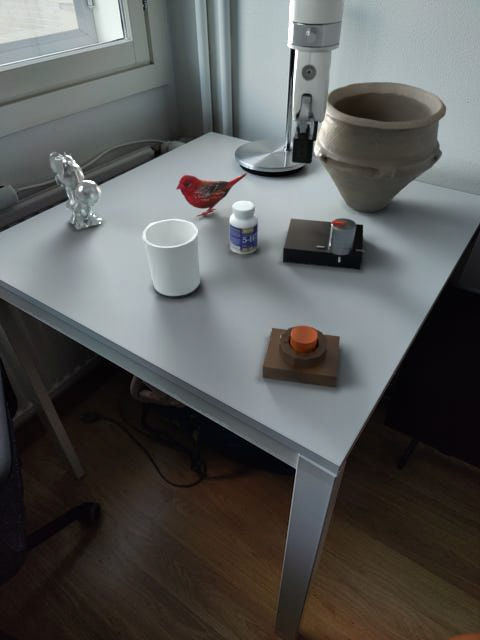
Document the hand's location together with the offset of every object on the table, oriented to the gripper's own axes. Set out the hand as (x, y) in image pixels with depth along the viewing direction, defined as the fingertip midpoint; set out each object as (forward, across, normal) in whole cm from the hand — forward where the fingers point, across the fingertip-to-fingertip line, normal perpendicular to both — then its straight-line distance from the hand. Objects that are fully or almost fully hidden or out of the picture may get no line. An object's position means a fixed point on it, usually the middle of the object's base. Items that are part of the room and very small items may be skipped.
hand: (304, 150), depth 79 cm
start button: (+14, -32, -4) cm, 35 cm away
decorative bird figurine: (+18, +9, +19) cm, 28 cm away
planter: (+18, +18, -13) cm, 29 cm away
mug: (+18, -17, +20) cm, 32 cm away
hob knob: (+15, -6, -8) cm, 18 cm away
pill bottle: (+18, -4, +10) cm, 21 cm away
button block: (+18, -32, -4) cm, 37 cm away
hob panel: (+18, -4, -5) cm, 19 cm away
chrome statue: (+18, -1, +44) cm, 47 cm away
